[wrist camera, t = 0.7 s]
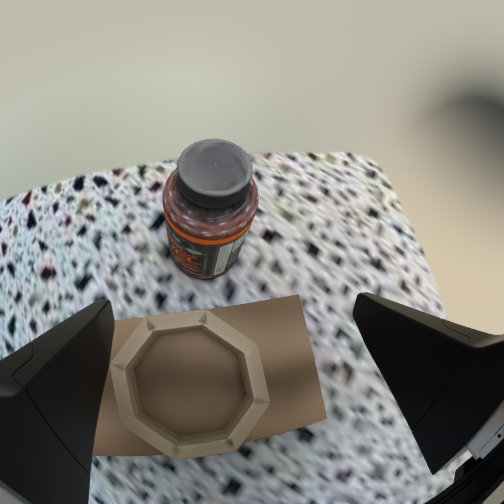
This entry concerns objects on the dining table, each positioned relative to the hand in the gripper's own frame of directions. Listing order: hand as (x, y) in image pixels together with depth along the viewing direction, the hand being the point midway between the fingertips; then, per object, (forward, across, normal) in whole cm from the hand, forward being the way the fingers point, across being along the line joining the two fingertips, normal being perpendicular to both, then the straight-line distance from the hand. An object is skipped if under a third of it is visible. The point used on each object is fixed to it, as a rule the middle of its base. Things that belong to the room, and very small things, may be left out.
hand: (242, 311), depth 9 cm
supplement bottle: (+15, +1, +3) cm, 16 cm away
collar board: (+7, +2, +12) cm, 14 cm away
